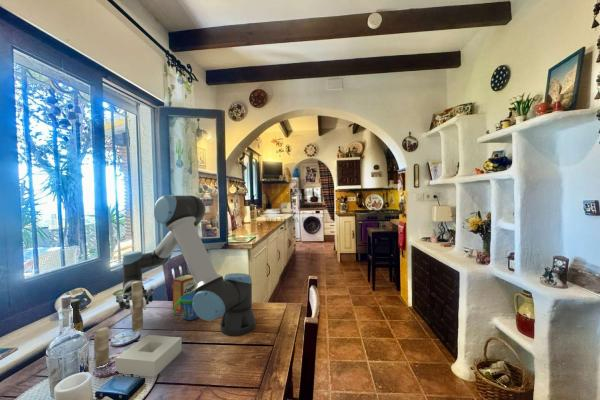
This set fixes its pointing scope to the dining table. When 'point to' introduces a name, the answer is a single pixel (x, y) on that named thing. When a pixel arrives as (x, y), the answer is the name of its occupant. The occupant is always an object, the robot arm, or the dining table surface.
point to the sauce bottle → (77, 315)
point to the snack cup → (187, 306)
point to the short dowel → (94, 346)
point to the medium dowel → (102, 346)
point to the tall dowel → (137, 306)
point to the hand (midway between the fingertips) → (138, 307)
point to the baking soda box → (182, 289)
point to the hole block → (148, 355)
